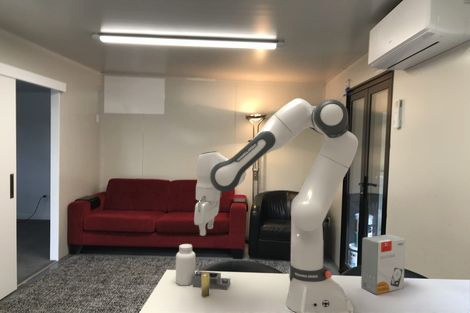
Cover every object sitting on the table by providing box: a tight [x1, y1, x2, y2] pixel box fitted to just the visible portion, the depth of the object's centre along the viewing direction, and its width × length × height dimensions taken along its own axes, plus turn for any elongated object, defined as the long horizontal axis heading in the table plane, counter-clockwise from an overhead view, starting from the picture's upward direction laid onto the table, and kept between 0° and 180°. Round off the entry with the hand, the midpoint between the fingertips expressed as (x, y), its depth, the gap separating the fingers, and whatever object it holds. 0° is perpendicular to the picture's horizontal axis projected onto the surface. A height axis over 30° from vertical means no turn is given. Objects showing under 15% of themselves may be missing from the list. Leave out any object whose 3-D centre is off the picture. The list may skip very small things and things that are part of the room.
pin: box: [200, 273, 210, 298], centre depth 117 cm, size 3×3×8 cm
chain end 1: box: [192, 270, 222, 288], centre depth 126 cm, size 10×6×5 cm, turn 79°
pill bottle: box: [175, 243, 196, 286], centre depth 129 cm, size 8×8×15 cm
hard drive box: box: [360, 233, 406, 295], centre depth 123 cm, size 16×8×20 cm, turn 114°
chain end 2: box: [209, 277, 231, 291], centre depth 125 cm, size 10×6×3 cm, turn 79°
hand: (206, 231), depth 116 cm, fingers open, 8 cm apart
